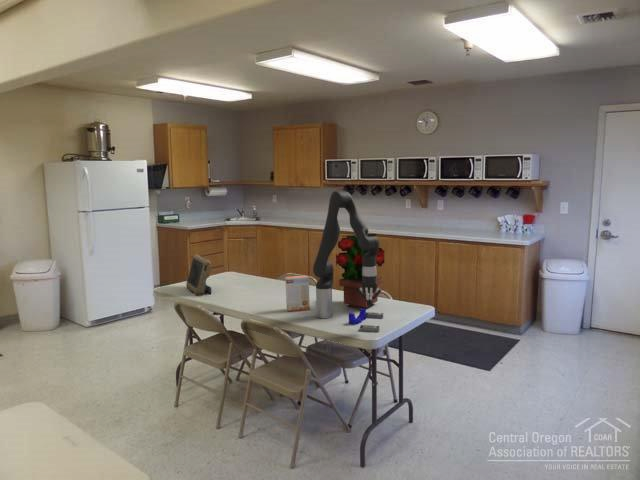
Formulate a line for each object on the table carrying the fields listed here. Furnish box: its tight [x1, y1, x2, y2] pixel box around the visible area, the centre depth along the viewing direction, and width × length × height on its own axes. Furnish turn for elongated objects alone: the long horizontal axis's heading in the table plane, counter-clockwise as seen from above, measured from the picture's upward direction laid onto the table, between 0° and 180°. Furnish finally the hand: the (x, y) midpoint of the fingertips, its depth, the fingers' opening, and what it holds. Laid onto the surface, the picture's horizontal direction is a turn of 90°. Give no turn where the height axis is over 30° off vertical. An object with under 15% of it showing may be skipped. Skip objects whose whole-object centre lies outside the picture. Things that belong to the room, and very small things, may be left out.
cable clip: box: [348, 308, 367, 326], centre depth 270 cm, size 12×4×6 cm, turn 138°
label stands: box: [359, 311, 384, 333], centre depth 267 cm, size 10×28×2 cm, turn 168°
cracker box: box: [284, 275, 311, 313], centre depth 295 cm, size 14×6×21 cm, turn 100°
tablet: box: [186, 253, 213, 296], centre depth 348 cm, size 33×14×25 cm, turn 34°
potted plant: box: [335, 233, 385, 310], centre depth 300 cm, size 22×22×45 cm
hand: (369, 306), depth 254 cm, fingers closed
